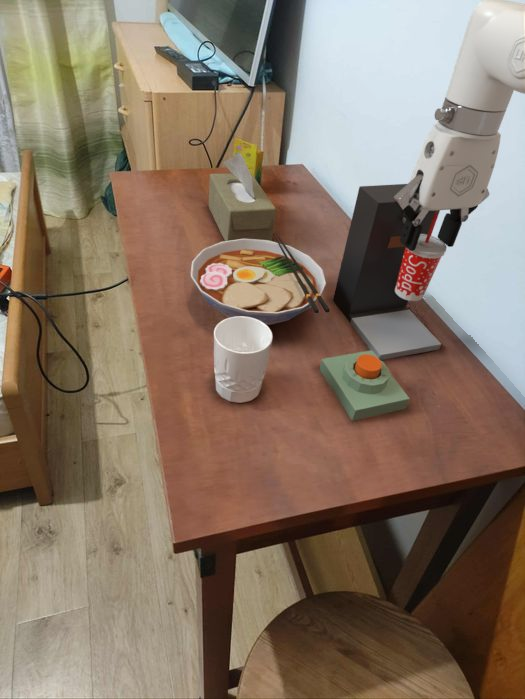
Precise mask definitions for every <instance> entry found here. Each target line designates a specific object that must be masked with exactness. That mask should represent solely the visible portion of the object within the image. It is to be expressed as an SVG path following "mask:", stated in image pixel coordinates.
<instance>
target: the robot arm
mask: <svg viewBox="0 0 525 699" xmlns="http://www.w3.org/2000/svg"><path fill="white" fill-rule="evenodd" d="M514 91H515V92H518V93H520V94H524V95H525V3H522V2H516V1H510V0H481V1H480V2H478V3H477V4H476V6H474V8H473V10H472V11H471V14H470V16H469V20H468V23H467V26H466V29H465V32H464V36H463V39H462V42H461V45H460V49H459V52H458V55H457V58H456V61H455V65H454V68H453V70H452V74H451V78H450V81H449V84H448V87H447V90H446V94H445V97H444V100H443V102H442V106H441V108H437V109H435V112H434V119H435V120H436V121H437V123H436V124H433V126H432V128H431V129H430V131H429V133H428V135H427V137H426V139H425V141H424V143H423V145H422V148H421V150H420V153H419V155H418V158H417V159H416V162H415V166H414V169H413V171H412V175H411V178H410V181H409V182H408V183H406V184H407V185H406V186H405V187H404V188H403V189H401V190H400V191H399V192H398V193H397V194H396V195H395V196H394V201H395V202H396V204H397V205H398V207H399V209H400V210H401V212H402V213H403V216H404V217H405V218H406V221H405V224H404V227H403V231H402V234H401V238H400V242H401V243H402V244H403V245H404V246H405V247H406V248H407V249H408V250H409V251H414V250H415V248H416V246H417V243H418V240H419V237H420V234H421V231H422V226H421V225H420V223H421V222H422V220H423V219H424V217H425V216H426V214H427V213H428V211H429V210H430V211H435V210H440V211H449V212H447V213H445V215H444V217H443V220H442V223H441V225H440V228H439V231H438V234H437V238H438V239H440V240H441V241H442V242H444V243H445V245H446V246H447V247H448V248H452V247H454V245H455V243H456V240H457V237H458V236H459V232H460V230H461V227H462V225H463V223H465V222H467V221H468V219H469V215H470V214H472V213H473V212H474V211H475V210H476V209H477V208H478V207H479V205H480V204H482V203H483V202H484V201H485V200H486V199H488V198H489V196H490V191H489V189H488V186H489V184H490V181H491V178H492V175H493V172H494V168H495V166H496V162H497V158H498V153H499V148H500V144H501V133H500V132H499V131H500V127H501V126H502V122H503V119H504V117H505V114H506V112H507V108H508V107H509V104H510V101H511V99H512V96H513V93H514ZM410 198H413V200H412V201H411V203H410V204H409V199H410ZM419 205H420V206H421V208H420V209H419V211H418V212H417V214H416V213H415V211H416V209H417V208H418V206H419Z"/></svg>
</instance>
